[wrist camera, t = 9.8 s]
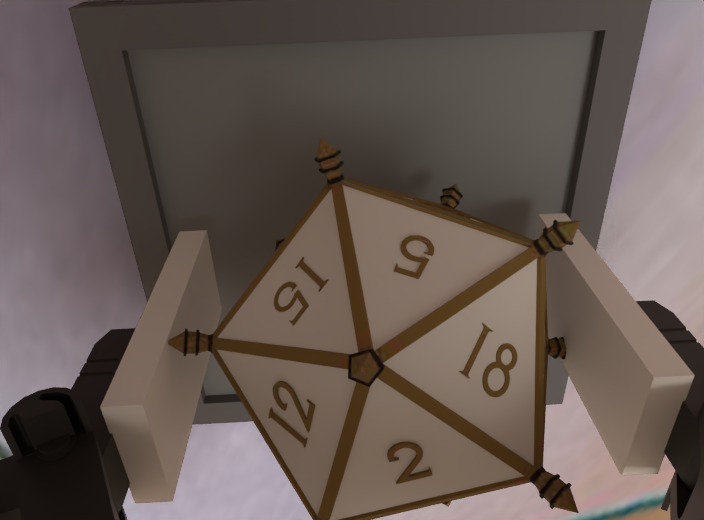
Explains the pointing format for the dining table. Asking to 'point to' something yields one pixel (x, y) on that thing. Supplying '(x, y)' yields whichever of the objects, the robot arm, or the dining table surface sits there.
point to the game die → (395, 352)
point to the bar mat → (352, 118)
